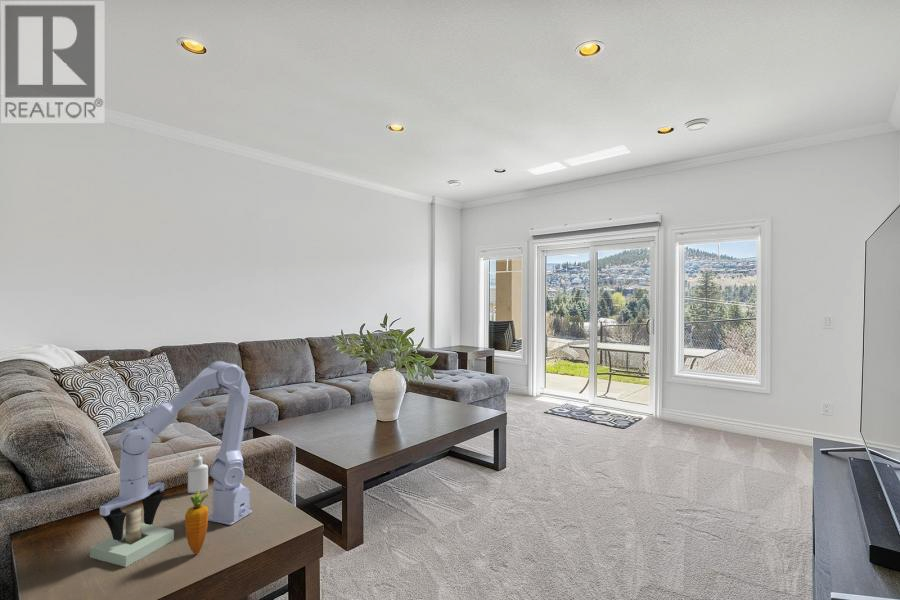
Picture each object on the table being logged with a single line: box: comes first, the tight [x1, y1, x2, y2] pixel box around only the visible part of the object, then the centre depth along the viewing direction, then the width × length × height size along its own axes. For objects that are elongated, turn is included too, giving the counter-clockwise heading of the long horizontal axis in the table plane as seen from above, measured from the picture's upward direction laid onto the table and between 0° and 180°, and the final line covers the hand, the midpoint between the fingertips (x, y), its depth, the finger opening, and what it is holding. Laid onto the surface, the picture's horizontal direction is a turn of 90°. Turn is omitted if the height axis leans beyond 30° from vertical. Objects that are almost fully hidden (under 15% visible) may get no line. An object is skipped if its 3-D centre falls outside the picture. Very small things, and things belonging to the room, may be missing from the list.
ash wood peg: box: [125, 506, 143, 545], centre depth 106 cm, size 3×3×10 cm
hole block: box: [89, 522, 175, 568], centre depth 106 cm, size 12×12×2 cm
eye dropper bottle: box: [187, 453, 209, 494], centre depth 139 cm, size 4×6×12 cm
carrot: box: [184, 491, 209, 555], centre depth 104 cm, size 5×5×15 cm
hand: (133, 531), depth 106 cm, fingers open, 7 cm apart
